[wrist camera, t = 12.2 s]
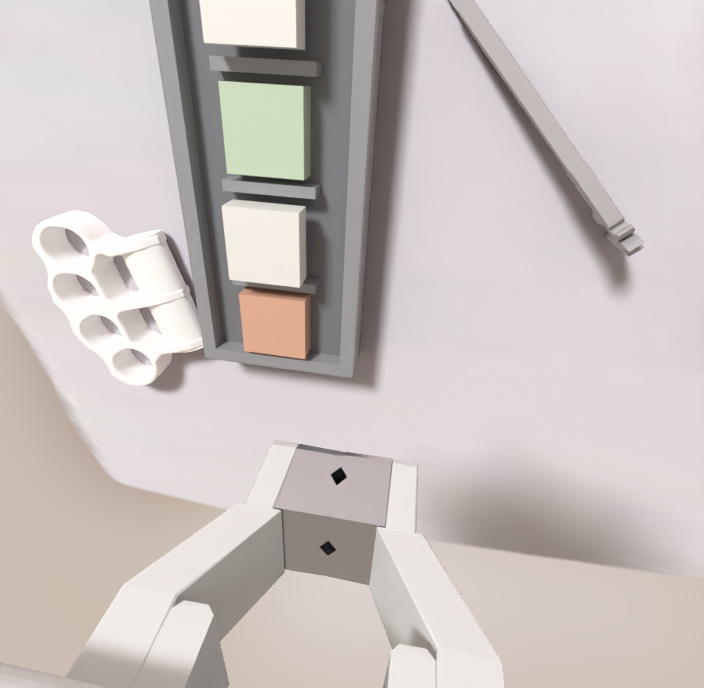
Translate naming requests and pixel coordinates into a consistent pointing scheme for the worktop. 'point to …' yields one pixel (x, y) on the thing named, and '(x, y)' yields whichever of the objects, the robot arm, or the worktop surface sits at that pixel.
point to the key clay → (276, 321)
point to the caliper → (549, 129)
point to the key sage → (266, 129)
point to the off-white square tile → (265, 242)
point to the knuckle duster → (119, 294)
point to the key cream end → (254, 23)
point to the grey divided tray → (314, 192)
